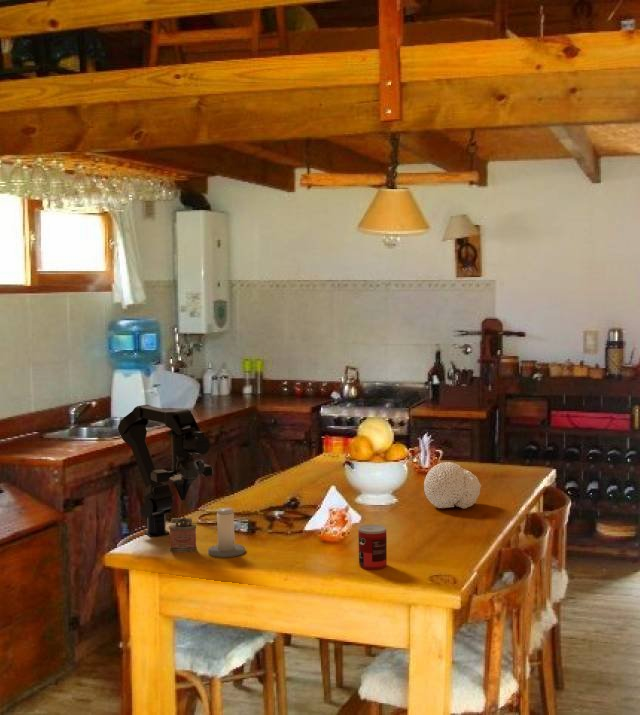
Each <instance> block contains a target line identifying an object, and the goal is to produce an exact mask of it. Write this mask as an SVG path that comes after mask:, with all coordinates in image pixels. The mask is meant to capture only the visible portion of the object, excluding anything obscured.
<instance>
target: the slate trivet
mask: <svg viewBox="0 0 640 715" xmlns="http://www.w3.org/2000/svg"><path fill="white" fill-rule="evenodd" d="M207 552H208V553H207V554H208V555H209V556H210V557H214V558H221V559H226V558H236V557H240V556H242V555H244V554H245V553H246V547H245V546H244V545H242V544H237V543H235V549H234V550H232V551H219V550H218V544H214V545H212V546H210V547H208V550H207Z"/></svg>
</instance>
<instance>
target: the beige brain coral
mask: <svg viewBox="0 0 640 715" xmlns="http://www.w3.org/2000/svg"><path fill="white" fill-rule="evenodd" d="M423 482H424V483H423V486H424V487H423V489H424V490H423V491H424V494H425V496H426V500H427V499H428V502H430V503H431V504H432V505H433V506H435V508H438V509H448V508H454V507H457V508H461V509H467V508H470V507H472V506H474V504H476V501H477V500H478V498H479V497H480V493H481V487H482V484H481V482H479V479H478V477H477V476H476V475H475V474H473V473H472V472H471V470H470V471H469V470H468V469H465V468H463V467H461V465H459V464H457V463H454V462H450V461H448V462H447V461H444V462H440V463H437V464H436V465H434V466H433V467H431V468H430V470H428V471H427V474H426V476H425V477H424V481H423Z"/></svg>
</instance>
